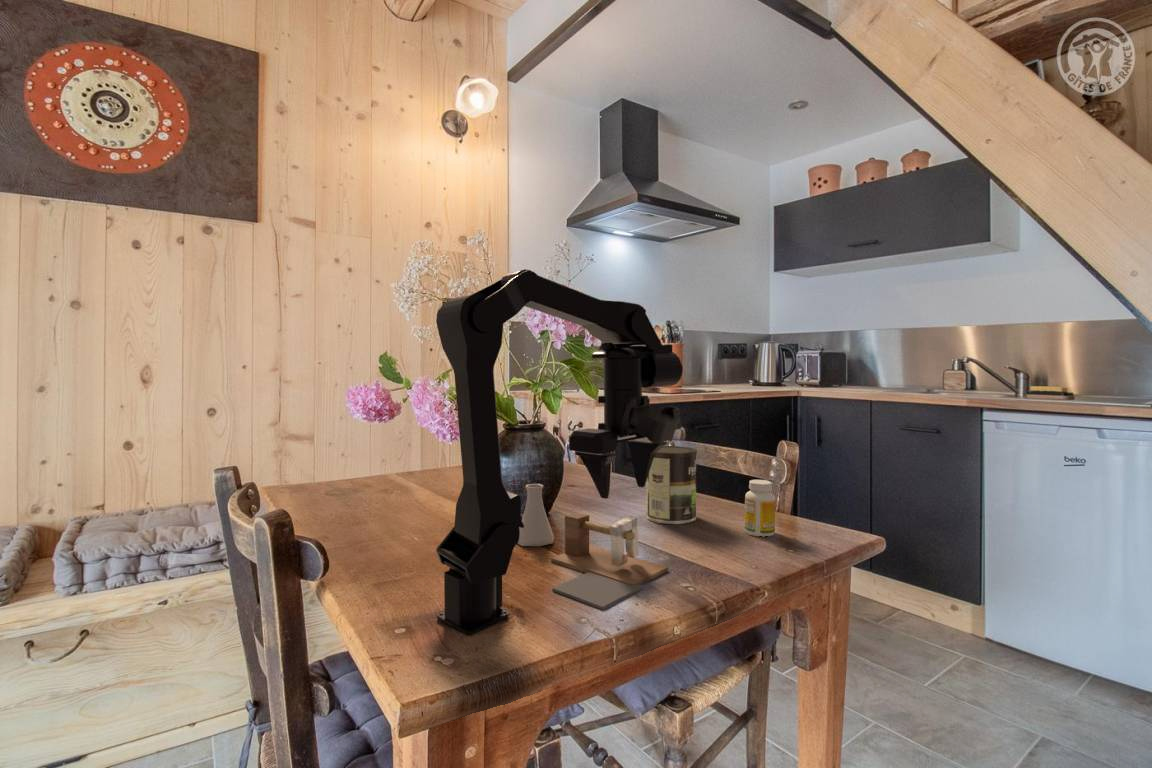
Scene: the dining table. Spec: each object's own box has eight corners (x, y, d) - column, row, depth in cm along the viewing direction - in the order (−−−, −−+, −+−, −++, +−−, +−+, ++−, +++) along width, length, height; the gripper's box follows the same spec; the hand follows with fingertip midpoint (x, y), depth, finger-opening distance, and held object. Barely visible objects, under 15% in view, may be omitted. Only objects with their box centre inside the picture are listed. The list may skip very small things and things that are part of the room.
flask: (517, 549, 94) (517, 491, 94) (511, 537, 101) (511, 482, 101) (559, 546, 96) (559, 488, 96) (550, 533, 103) (549, 480, 103)
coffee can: (698, 512, 117) (698, 446, 116) (694, 526, 107) (694, 454, 107) (649, 509, 120) (649, 444, 119) (641, 522, 110) (641, 451, 109)
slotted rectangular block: (619, 566, 82) (617, 527, 81) (611, 564, 83) (609, 525, 82) (638, 554, 86) (636, 517, 85) (631, 552, 87) (629, 515, 86)
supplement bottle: (742, 534, 102) (742, 483, 101) (747, 527, 107) (747, 477, 106) (773, 539, 99) (773, 485, 99) (776, 531, 104) (777, 480, 104)
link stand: (633, 588, 77) (633, 540, 77) (551, 561, 88) (551, 519, 88) (668, 570, 84) (668, 526, 84) (588, 547, 95) (588, 508, 95)
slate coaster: (602, 609, 71) (602, 606, 71) (552, 590, 77) (552, 588, 77) (643, 588, 78) (643, 585, 78) (593, 572, 84) (593, 569, 84)
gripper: (629, 394, 71) (630, 515, 71) (701, 387, 85) (702, 488, 85) (565, 391, 78) (567, 501, 79) (641, 386, 92) (642, 479, 93)
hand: (623, 492), depth 84 cm, fingers open, 9 cm apart
